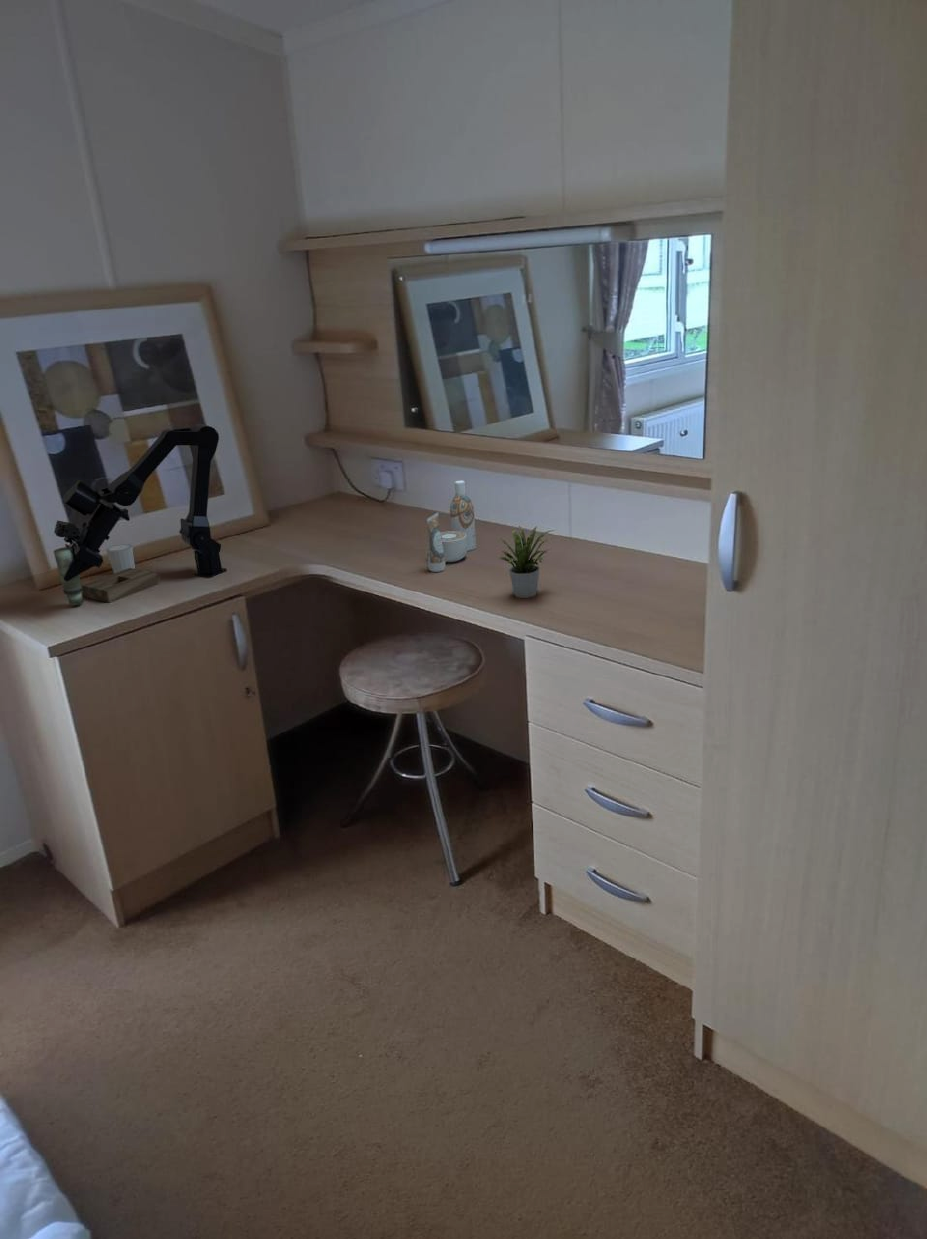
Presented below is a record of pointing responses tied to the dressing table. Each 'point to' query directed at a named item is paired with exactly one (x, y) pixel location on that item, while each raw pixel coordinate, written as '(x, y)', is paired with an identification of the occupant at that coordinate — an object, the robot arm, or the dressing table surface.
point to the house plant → (524, 564)
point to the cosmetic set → (452, 532)
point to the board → (119, 584)
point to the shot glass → (121, 557)
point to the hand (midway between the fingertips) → (63, 578)
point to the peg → (71, 586)
